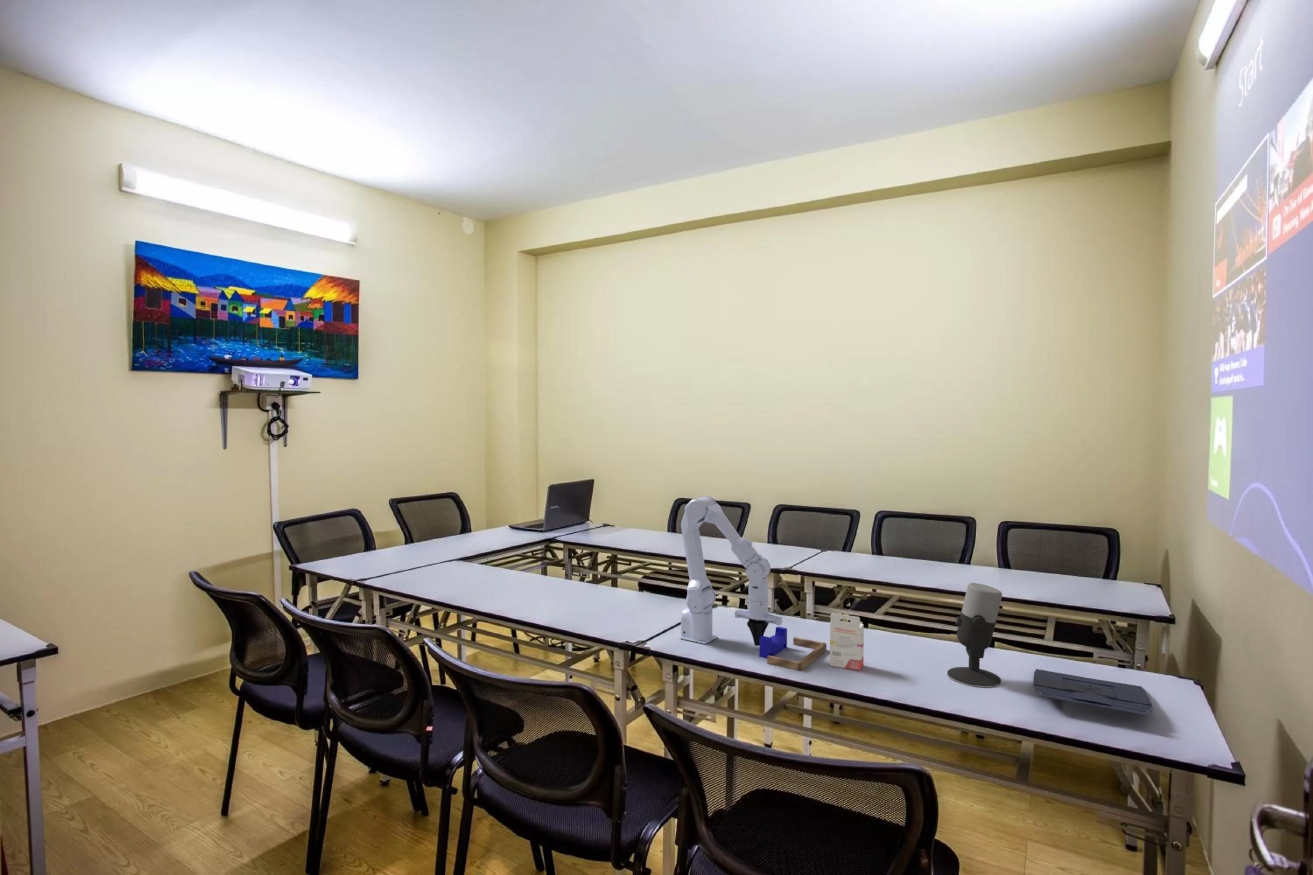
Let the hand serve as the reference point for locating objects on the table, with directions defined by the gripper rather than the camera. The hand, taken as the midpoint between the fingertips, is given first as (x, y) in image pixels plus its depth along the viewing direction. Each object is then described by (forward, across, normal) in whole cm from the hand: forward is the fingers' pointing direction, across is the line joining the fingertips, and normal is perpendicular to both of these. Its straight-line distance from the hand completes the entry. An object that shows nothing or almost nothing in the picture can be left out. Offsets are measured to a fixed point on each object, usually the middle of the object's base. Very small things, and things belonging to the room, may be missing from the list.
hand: (757, 644), depth 205 cm
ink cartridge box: (+1, -26, -1) cm, 27 cm away
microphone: (+1, -58, -11) cm, 59 cm away
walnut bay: (+1, -12, 0) cm, 13 cm away
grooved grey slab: (+2, -84, -12) cm, 84 cm away
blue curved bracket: (+2, -4, 0) cm, 5 cm away
